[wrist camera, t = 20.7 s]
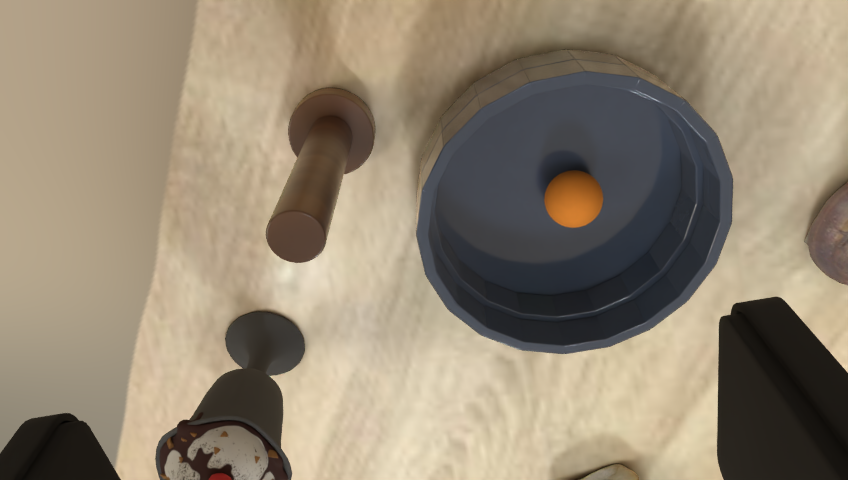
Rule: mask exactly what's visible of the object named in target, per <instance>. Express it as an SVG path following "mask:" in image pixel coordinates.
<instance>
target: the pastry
mask: <svg viewBox="0 0 848 480" xmlns="http://www.w3.org/2000/svg"><path fill="white" fill-rule="evenodd" d="M579 480H639V478H638V475H637V474H636V473H635V472H634V471H632V470H630V469H628V468H626V467H625V466H623V465H620V464H614V465H611V466H608V467H606V468H603V469H600V470H598V471H596V472H593V473H591V474H590V475H588V476H586V477H584V478H582V479H579Z"/></svg>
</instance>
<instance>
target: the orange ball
mask: <svg viewBox="0 0 848 480" xmlns="http://www.w3.org/2000/svg"><path fill="white" fill-rule="evenodd" d="M544 201H545V207H546V210H547V212H548V214H549V215H550V217H551V218H552V219H553V220H554V221H555V222H557V223H558V224H560V225H562V226H565V227H570V228H577V227H582V226H585V225H587V224H589V223H590V222H592V221H593V220H594V219H595V218H596V217H597V215H598V214H599V212H600V211H601V208H602V204H603V193H602V189H601V187H600V185H599V183H598V182H597V181H596V179H594V178H593V177H592V176H591V175H589V174H587V173H585V172H582V171H577V170H572V171H566V172H563V173H561V174H559V175H557V176H556V177H555V178H554V179H553V180H552V181H551V182H550V183H549V185H548V187H547V189H546V192H545V198H544Z"/></svg>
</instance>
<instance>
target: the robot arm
mask: <svg viewBox="0 0 848 480" xmlns="http://www.w3.org/2000/svg"><path fill="white" fill-rule="evenodd" d="M717 457H718V463H719V467H720V471H721V474H722V476H723V479H724V480H848V373H847V372H846V370H845V369H844V368H843V367H842V366H841V365H840V364H839V362H838V361H837V360H836V359H835V358H834V357H833V356H832V354H831V353H830V352H829V351H828V350H827V349H826V348H825V346H824V345H823V344H822V343H821V342H820V341H819V340H818V338H817V337H816V336H815V335H814V334H813V333H812V332H811V330H810V329H809V328H808V327H807V326H806V325H805V324H804V322H803V321H802V320H801V319H800V318H799V317H798V316H797V314H796V313H795V312H794V311H793V310H792V309H791V308H790V306H789V305H788V304H787V303H786V302H785V301H784V300H783V299H782V298H780V297H771V298H765V299H759V300H753V301H747V302H741V303H736V304H734V305H733V307H732V309H731V315H727V316H723V317H721V319H720V322H719V366H718V433H717ZM0 480H121V479H120V478H119V476H118V474H117V473H116V471H115V469H114V468H113V466H112V464H111V463H110V461H109V459H108V457H107V456H106V454H105V452H104V451H103V449H102V447H101V446H100V444H99V442H98V441H97V439H96V437H95V436H94V434H93V432H92V431H91V429H90V427H89V426H88V425H87V423H85V422H83V421H79V420H78V419H77V418H76V417H75V416H74V415H72V414H70V413H63V414H57V415H50V416H45V417H38V418H32V419H29V420H27V421H25V422H24V423H23V424H22V425H21V426H20V427H19V429H18V430H17V431H16V433H15V434H14V436H13V437H12V438H11V440H10V441H9V442H8V444H7V445H6V446H5V448H4V449H3V451H2V452H1V453H0Z"/></svg>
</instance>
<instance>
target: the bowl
mask: <svg viewBox="0 0 848 480" xmlns="http://www.w3.org/2000/svg"><path fill="white" fill-rule="evenodd" d="M572 170H577V171H582V172H585V173H587V174H589V175H591V176H592V177H593V178H594V179H596V181H597V182H598V183H599V185H600V187H601V189H602V193H603V204H602V208H601V211H600V212H599V214H598V215H597V217H596V218H595V219H594V220H593V221H592V222H590V223H589V224H587V225H585V226H582V227H577V228H570V227H565V226H562V225H560V224H558V223H557V222H555V221H554V220H553V219H552V218H551V217H550V215H549V214H548V212H547V210H546V207H545V201H544V198H545V192H546V189H547V187H548V185H549V183H550V182H551V181H552V180H553V179H554V178H555V177H556V176H557V175H559V174H561V173H563V172H566V171H572ZM732 198H733V178H732V173H731V171H730V168H729V165H728V162H727V160H726V157H725V154H724V152H723V149H722V146H721V143H720V141H719V138H718V136H717V134H716V133H715V132H714V130H713V129H712V128H711V127H710V126H709V125H708V124H707V123H706V122H705V121H704V120H703V118H702V117H701V116H700V115H699V114H698V113H697V112H696V111H695V110H694V109H693V107H692V106H691V105H690V104H689V103H688V102H687V101H686V100H685V99H684V98H682V97H681V96H680V95H679V94H677V93H676V92H675V91H674V90H673V89H671V88H670V87H669V86H668V85H666V84H665V83H664V82H663V81H661V80H660V79H659V78H658V77H657V76H655V75H654V74H652V73H650V72H648V71H646V70H644V69H642V68H640V67H638V66H636V65H634V64H632V63H630V62H628V61H626V60H624V59H622V58H620V57H618V56H616V55H612V54H604V53H595V52H587V51H579V50H570V49H567V50H565V49H564V50H559V51H554V52H549V53H544V54H539V55H534V56H529V57H524V58H519V59H518V60H517V59H516V60H514V61H512V62H510V63H508V64H507V65H505V66H503V67H501V68H499V69H497V70H496V71H494V72H492V73H490V74H488V75H487V76H485V77H483V78H481V79H479V80H477V81H476V82H474V84H472V85H471V86H470V87H469V88H468V89H467V90H466V91H465V92H464V93H463V94H462V95H461V97H460V98H459V99H458V100H457V101H456V102H455V103H454V104H453V105H452V106H451V107H450V108H449V109H448V110H447V111H446V112H445V113H444V114H443V115H442V117H441V118H440V120H439V122H438V124H437V126H436V128H435V130H434V132H433V134H432V136H431V138H430V140H429V142H428V144H427V146H426V148H425V150H424V152H423V155H422V158H421V164H420V172H419V180H418V189H417V198H416V237H417V241H418V245H419V250H420V254H421V258H422V262H423V267H424V271H425V275H426V277H427V279H428V280H429V282H430V283H431V285H432V286H433V288H434V289H435V291H436V292H437V294H438V295H439V297H440V298H441V300H442V301H443V303H444V304H445V306H446V307H447V309H448V310H449V311H450V312H451V313H453V314H454V315H455V316H457V317H458V318H459V319H461V320H462V321H463V322H464V323H466V324H467V325H468V326H470V327H471V328H472V329H473V330H475V331H476V332H477V333H479V334H480V335H482V336H484V337H487V338H489V339H492V340H495V341H497V342H500V343H503V344H505V345H508V346H510V347H513V348H516V349H518V350H523V351H534V352H545V353H556V354H569V353H575V352H581V351H587V350H593V349H600V348H606V347H610V346H613V345H615V344H617V343H620V342H622V341H624V340H627V339H629V338H632V337H634V336H636V335H639V334H641V333H643V332H646V331H648V330H650V329H651V328H653V327H654V326H656V325H657V324H658V323H660V322H661V321H662V320H664V319H665V318H666V317H668V316H669V315H670V314H672V313H673V312H674V311H676V310H677V309H678V308H679V307H681V306H682V305H683V304H685V303H686V302H687V301H688V300H689V299H690V298H691V296H692V295H693V294H694V293H695V291H696V290H697V289H698V287H699V286H700V285H701V283H702V282H703V281H704V280H705V278H706V277H707V276H708V274H709V273H710V272H711V271H712V269H713V268H714V267H715V265H716V264H717V261H718V258H719V256H720V253H721V250H722V248H723V245H724V242H725V240H726V237H727V234H728V232H729V229H730V227H731V224H732V223H731V222H732Z"/></svg>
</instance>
